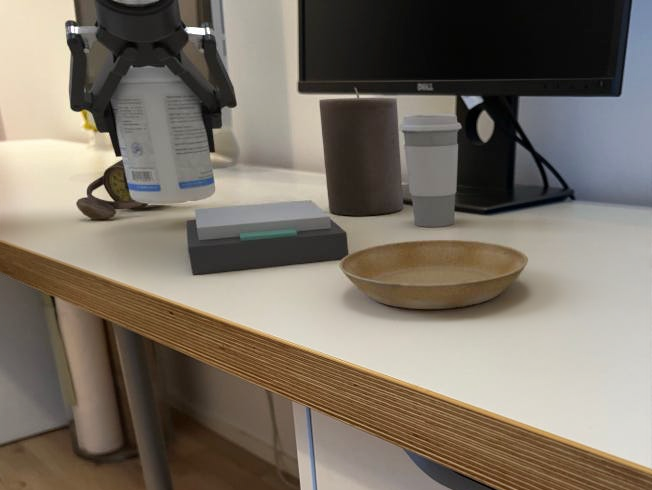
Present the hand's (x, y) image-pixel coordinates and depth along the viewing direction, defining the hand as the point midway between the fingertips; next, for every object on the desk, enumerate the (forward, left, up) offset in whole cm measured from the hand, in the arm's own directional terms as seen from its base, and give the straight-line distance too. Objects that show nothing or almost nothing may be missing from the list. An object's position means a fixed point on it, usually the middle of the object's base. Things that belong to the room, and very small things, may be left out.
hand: (165, 145), depth 84 cm
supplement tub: (0, -3, -6) cm, 7 cm away
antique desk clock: (-7, +10, -9) cm, 15 cm away
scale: (+8, -23, -9) cm, 26 cm away
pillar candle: (+23, -4, -9) cm, 25 cm away
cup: (+28, -17, -9) cm, 34 cm away
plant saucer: (+19, -44, -9) cm, 49 cm away
